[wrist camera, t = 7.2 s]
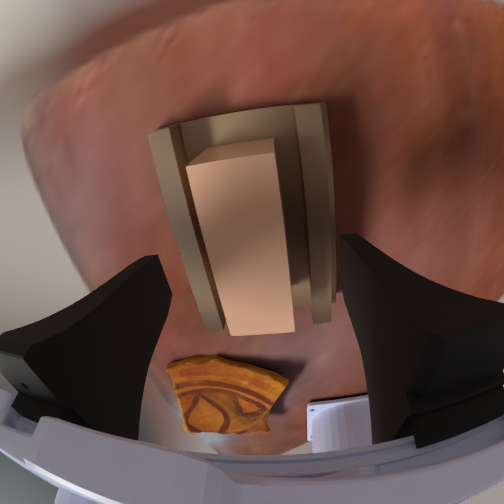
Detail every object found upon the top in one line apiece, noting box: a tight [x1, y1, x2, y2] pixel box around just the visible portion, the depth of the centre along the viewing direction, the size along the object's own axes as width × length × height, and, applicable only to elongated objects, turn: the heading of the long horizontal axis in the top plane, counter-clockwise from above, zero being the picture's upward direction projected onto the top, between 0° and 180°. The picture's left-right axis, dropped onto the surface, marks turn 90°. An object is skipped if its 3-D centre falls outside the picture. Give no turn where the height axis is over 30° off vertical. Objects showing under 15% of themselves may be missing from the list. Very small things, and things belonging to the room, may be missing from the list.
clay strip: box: [186, 138, 295, 336], centre depth 13 cm, size 8×3×4 cm, turn 9°
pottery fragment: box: [166, 355, 289, 434], centre depth 22 cm, size 10×5×10 cm
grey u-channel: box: [147, 102, 336, 331], centre depth 14 cm, size 11×8×2 cm
